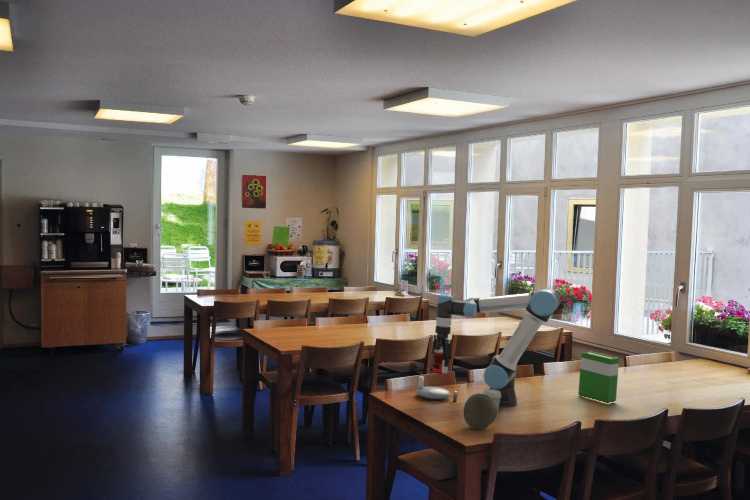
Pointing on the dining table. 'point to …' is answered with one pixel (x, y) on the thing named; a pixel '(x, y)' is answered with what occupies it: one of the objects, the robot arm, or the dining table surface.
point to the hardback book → (598, 376)
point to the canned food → (438, 361)
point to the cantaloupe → (480, 411)
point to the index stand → (441, 399)
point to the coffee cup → (493, 396)
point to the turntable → (431, 391)
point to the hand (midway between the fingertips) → (440, 370)
